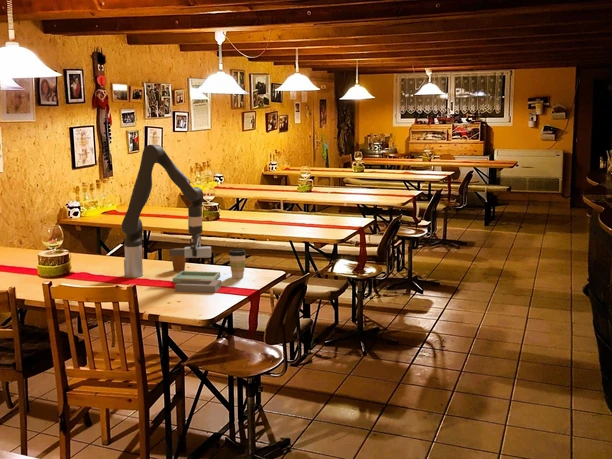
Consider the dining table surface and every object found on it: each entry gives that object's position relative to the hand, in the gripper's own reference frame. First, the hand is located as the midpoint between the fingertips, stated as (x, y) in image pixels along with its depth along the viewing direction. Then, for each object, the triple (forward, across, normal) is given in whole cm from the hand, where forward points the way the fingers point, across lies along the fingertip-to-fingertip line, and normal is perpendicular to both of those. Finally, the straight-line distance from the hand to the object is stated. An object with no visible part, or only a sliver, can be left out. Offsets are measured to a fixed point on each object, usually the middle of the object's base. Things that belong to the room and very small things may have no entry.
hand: (196, 254), depth 340 cm
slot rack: (+14, +18, +6) cm, 23 cm away
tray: (+14, 0, 0) cm, 14 cm away
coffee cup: (+14, -8, +21) cm, 26 cm away
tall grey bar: (+1, +1, -3) cm, 3 cm away
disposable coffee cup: (+14, -19, -16) cm, 29 cm away
